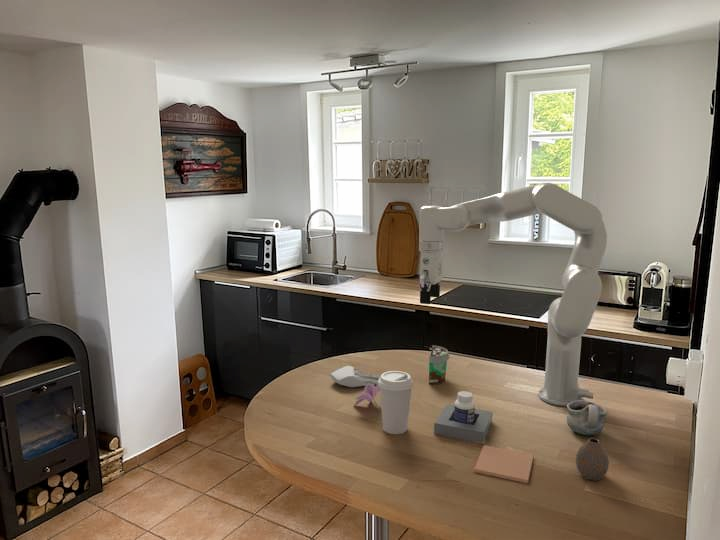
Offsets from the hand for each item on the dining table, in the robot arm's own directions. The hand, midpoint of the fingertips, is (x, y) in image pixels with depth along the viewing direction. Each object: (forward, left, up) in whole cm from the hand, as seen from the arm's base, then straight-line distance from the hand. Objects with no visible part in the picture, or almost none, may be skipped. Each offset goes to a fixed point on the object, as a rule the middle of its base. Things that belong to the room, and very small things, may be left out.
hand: (429, 300), depth 171 cm
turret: (+21, +6, -29) cm, 37 cm away
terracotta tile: (-30, +39, -29) cm, 57 cm away
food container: (-2, -7, -29) cm, 30 cm away
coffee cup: (0, +32, -29) cm, 43 cm away
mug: (-48, +15, -29) cm, 58 cm away
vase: (-49, +36, -29) cm, 67 cm away
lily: (+11, +22, -29) cm, 38 cm away
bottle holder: (-17, +24, -29) cm, 41 cm away
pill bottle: (-17, +24, -29) cm, 41 cm away
